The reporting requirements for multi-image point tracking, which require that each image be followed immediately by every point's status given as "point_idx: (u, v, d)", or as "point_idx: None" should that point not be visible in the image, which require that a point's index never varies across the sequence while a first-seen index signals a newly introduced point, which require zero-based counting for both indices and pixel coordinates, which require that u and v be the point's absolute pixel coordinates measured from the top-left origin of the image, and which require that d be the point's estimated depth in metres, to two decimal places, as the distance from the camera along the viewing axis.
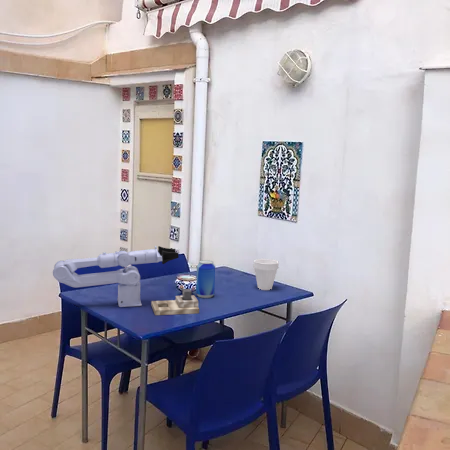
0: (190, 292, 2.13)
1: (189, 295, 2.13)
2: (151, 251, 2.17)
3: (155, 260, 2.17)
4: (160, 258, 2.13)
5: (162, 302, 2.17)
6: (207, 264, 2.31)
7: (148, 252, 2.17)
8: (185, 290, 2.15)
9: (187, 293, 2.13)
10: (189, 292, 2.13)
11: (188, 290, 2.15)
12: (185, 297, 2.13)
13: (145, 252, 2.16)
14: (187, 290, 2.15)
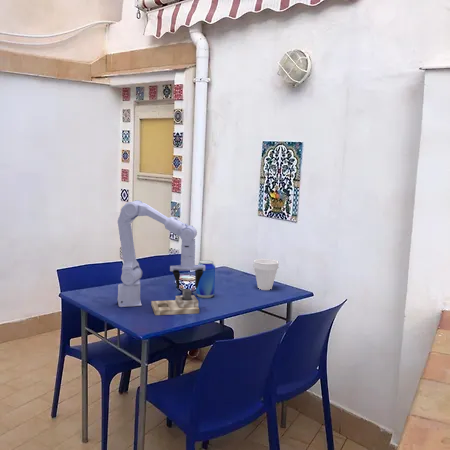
0: (190, 292, 2.13)
1: (189, 295, 2.13)
2: (185, 263, 2.11)
3: None
4: (170, 269, 2.12)
5: (162, 302, 2.17)
6: (207, 264, 2.31)
7: (184, 260, 2.10)
8: (185, 290, 2.15)
9: (187, 293, 2.13)
10: (189, 292, 2.13)
11: (188, 290, 2.15)
12: (185, 297, 2.13)
13: (184, 256, 2.10)
14: (187, 290, 2.15)
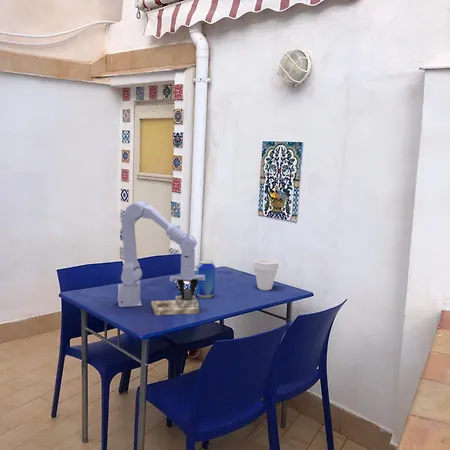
0: (190, 292, 2.13)
1: (189, 295, 2.13)
2: (184, 273, 2.11)
3: None
4: (170, 279, 2.12)
5: (162, 302, 2.17)
6: (207, 264, 2.31)
7: (184, 270, 2.11)
8: (185, 290, 2.15)
9: (187, 293, 2.13)
10: (189, 292, 2.13)
11: (188, 290, 2.15)
12: (185, 297, 2.13)
13: (184, 267, 2.11)
14: (187, 290, 2.15)
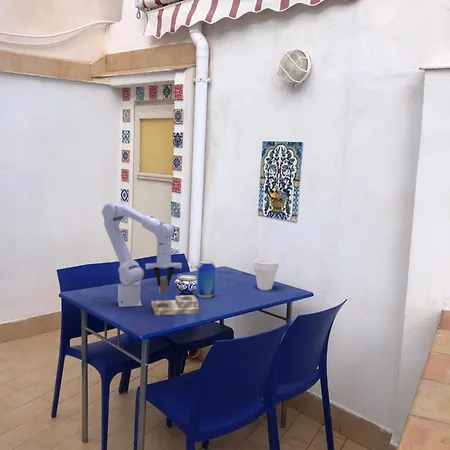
0: (166, 280, 2.10)
1: (165, 283, 2.10)
2: (160, 260, 2.08)
3: None
4: None
5: (162, 302, 2.17)
6: (207, 264, 2.31)
7: (160, 257, 2.08)
8: (161, 278, 2.11)
9: (163, 281, 2.10)
10: (165, 280, 2.10)
11: (164, 278, 2.11)
12: (161, 285, 2.10)
13: (160, 254, 2.08)
14: (163, 278, 2.11)
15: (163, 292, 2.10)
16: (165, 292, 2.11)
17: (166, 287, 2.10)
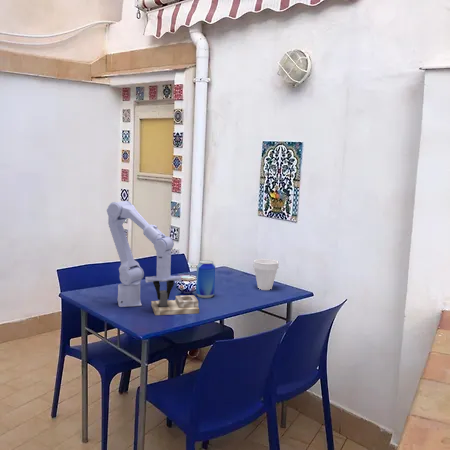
0: (166, 293, 2.11)
1: (165, 296, 2.11)
2: (160, 274, 2.09)
3: None
4: (145, 280, 2.10)
5: None
6: (207, 264, 2.31)
7: (159, 271, 2.08)
8: (161, 291, 2.12)
9: (163, 294, 2.10)
10: (165, 293, 2.11)
11: (164, 291, 2.12)
12: (161, 298, 2.11)
13: (159, 268, 2.08)
14: (163, 291, 2.12)
15: (163, 305, 2.11)
16: (165, 305, 2.11)
17: (166, 300, 2.11)
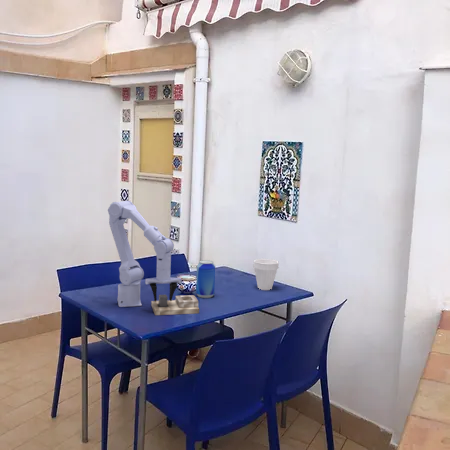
0: (166, 298, 2.11)
1: (165, 301, 2.11)
2: (160, 276, 2.09)
3: None
4: (145, 282, 2.10)
5: None
6: (207, 264, 2.31)
7: (159, 273, 2.09)
8: (161, 296, 2.12)
9: (163, 299, 2.11)
10: (165, 298, 2.11)
11: (164, 296, 2.13)
12: (161, 303, 2.11)
13: (159, 269, 2.08)
14: (163, 296, 2.12)
15: None
16: None
17: (166, 305, 2.11)
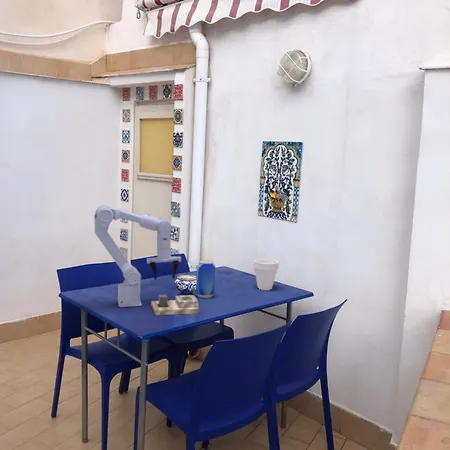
0: (166, 298, 2.11)
1: (165, 301, 2.11)
2: (160, 255, 2.19)
3: None
4: (147, 261, 2.20)
5: None
6: (207, 264, 2.31)
7: (160, 252, 2.19)
8: (161, 296, 2.12)
9: (163, 299, 2.11)
10: (165, 298, 2.11)
11: (164, 296, 2.13)
12: (161, 303, 2.11)
13: (160, 249, 2.19)
14: (163, 296, 2.12)
15: None
16: None
17: (166, 305, 2.11)
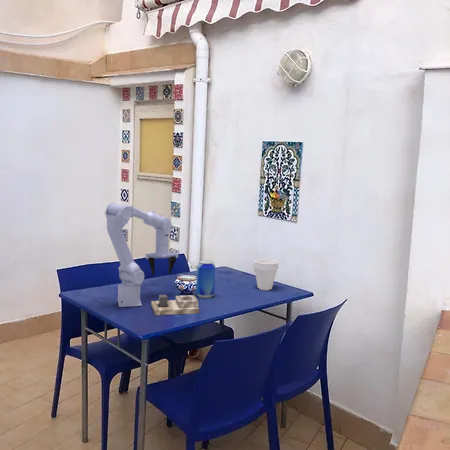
0: (166, 298, 2.11)
1: (165, 301, 2.11)
2: (159, 250, 2.27)
3: None
4: (145, 256, 2.28)
5: None
6: (207, 264, 2.31)
7: (159, 248, 2.27)
8: (161, 296, 2.12)
9: (163, 299, 2.11)
10: (165, 298, 2.11)
11: (164, 296, 2.13)
12: (161, 303, 2.11)
13: (159, 245, 2.27)
14: (163, 296, 2.12)
15: None
16: None
17: (166, 305, 2.11)
